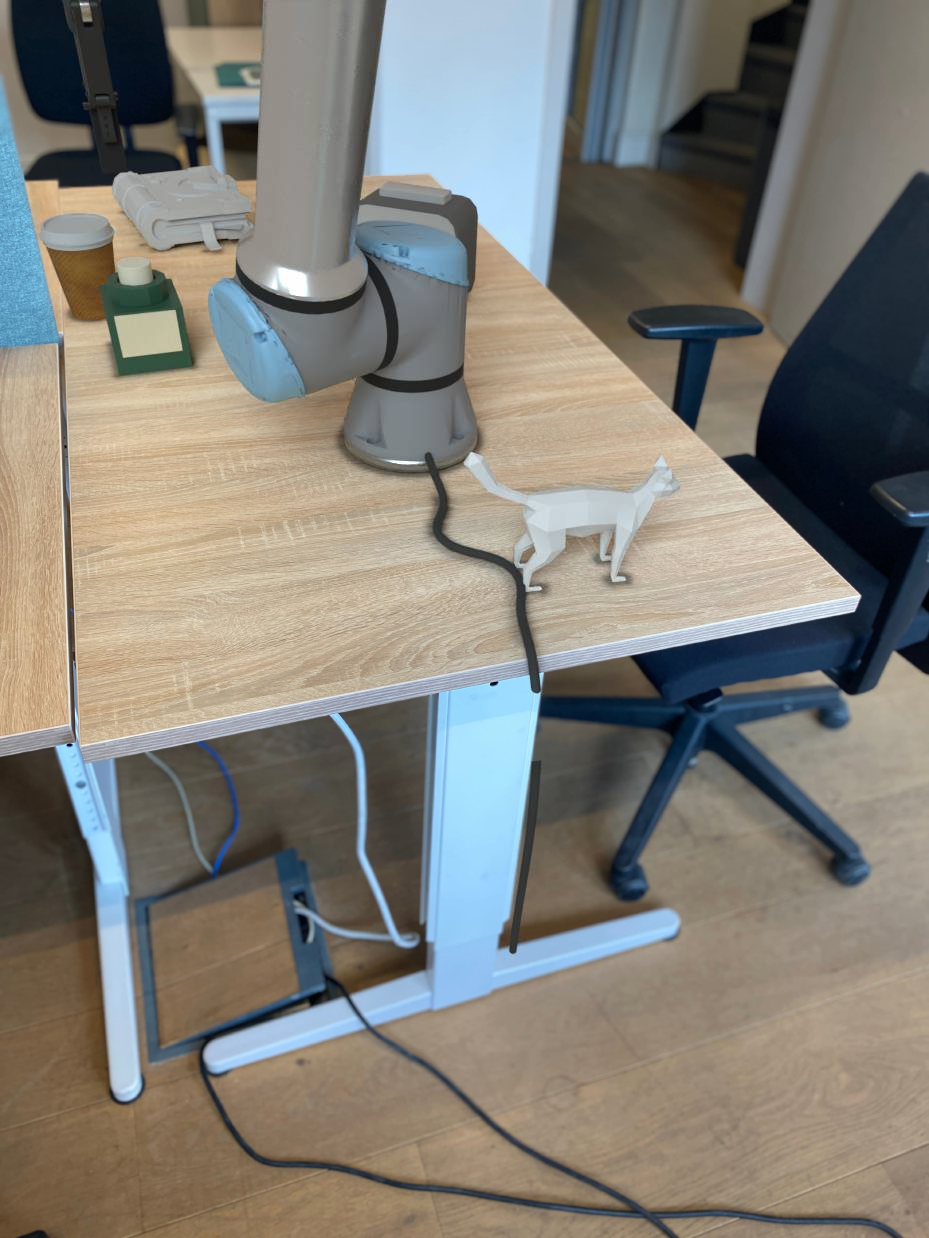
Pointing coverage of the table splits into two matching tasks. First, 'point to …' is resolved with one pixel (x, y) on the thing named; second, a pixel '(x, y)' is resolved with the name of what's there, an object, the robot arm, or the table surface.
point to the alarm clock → (426, 213)
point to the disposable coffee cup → (81, 259)
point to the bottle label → (148, 333)
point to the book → (183, 206)
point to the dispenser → (144, 301)
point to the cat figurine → (578, 514)
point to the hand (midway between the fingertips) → (114, 169)
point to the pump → (134, 271)
